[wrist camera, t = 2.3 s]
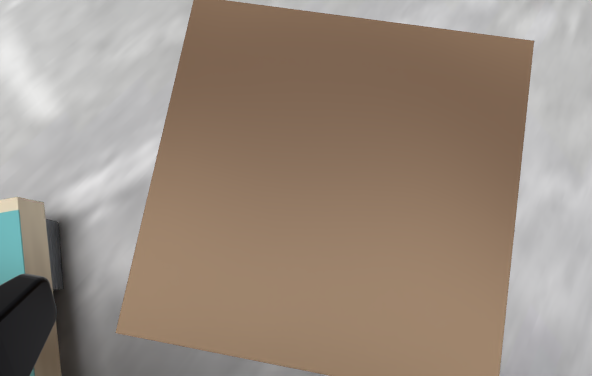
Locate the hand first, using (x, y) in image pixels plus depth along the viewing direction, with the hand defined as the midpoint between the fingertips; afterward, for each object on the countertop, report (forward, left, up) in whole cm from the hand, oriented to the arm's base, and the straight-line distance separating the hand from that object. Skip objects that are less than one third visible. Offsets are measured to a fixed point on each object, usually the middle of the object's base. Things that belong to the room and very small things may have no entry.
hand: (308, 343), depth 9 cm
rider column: (+2, -1, -9) cm, 10 cm away
